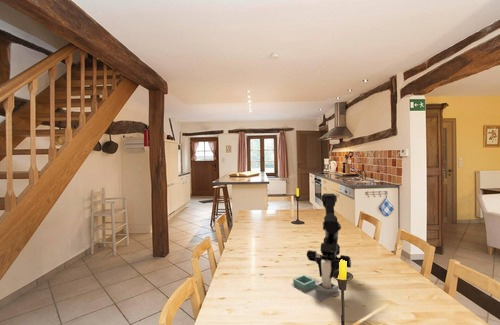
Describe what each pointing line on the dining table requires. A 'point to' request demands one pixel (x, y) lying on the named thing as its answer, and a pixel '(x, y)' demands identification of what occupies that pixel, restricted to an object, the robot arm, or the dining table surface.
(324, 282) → the plug
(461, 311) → the dining table surface
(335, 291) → the grey socket
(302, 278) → the teal socket
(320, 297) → the console board
